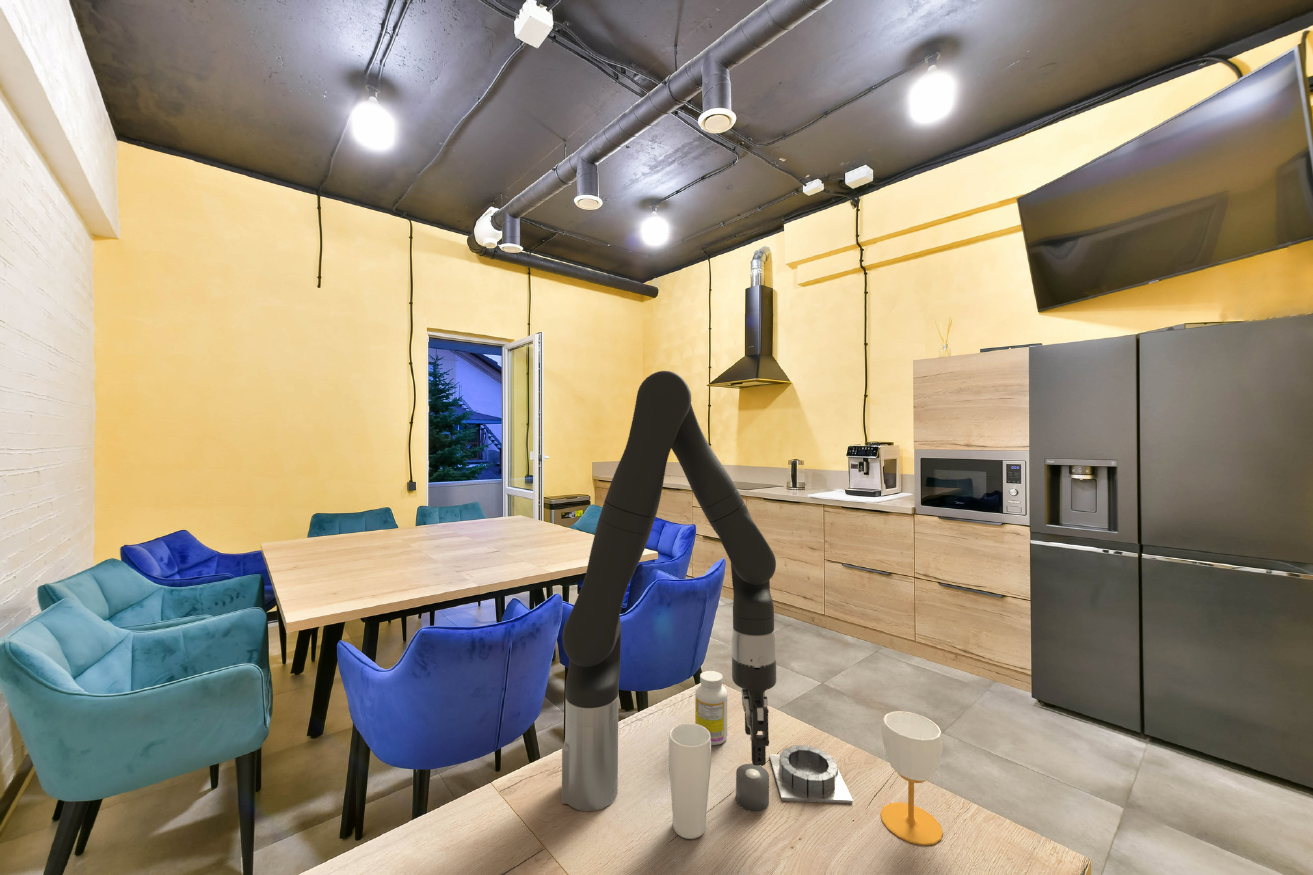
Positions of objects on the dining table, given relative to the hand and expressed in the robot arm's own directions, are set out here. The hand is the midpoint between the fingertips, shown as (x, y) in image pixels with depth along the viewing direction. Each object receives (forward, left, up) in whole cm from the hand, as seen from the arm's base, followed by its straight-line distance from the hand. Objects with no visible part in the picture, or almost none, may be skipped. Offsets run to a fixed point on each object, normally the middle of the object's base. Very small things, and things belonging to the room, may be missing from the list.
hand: (754, 748), depth 88 cm
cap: (0, 0, -9) cm, 9 cm away
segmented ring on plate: (+11, +6, -9) cm, 15 cm away
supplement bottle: (-6, +18, -9) cm, 21 cm away
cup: (+25, -4, -9) cm, 27 cm away
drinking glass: (-11, -7, -9) cm, 16 cm away
